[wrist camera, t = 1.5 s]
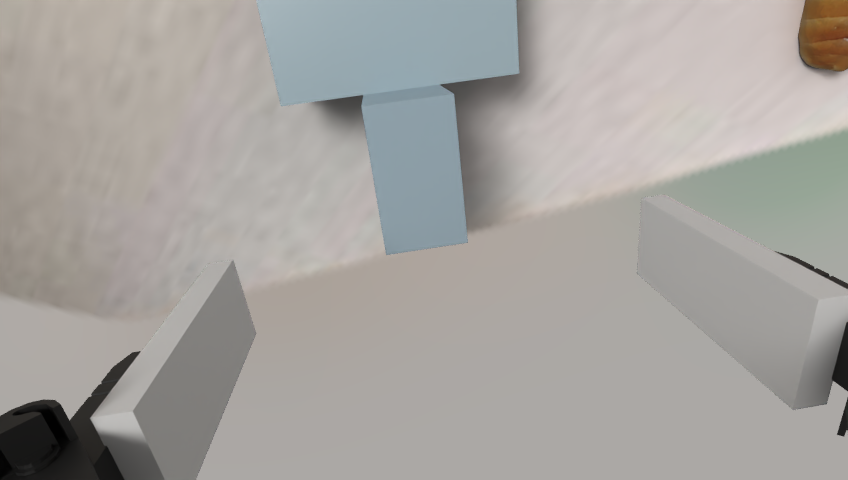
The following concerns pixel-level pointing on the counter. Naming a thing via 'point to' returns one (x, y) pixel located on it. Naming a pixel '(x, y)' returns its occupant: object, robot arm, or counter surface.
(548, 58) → the counter surface
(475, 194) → the counter surface
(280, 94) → the lid
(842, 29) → the pastry
